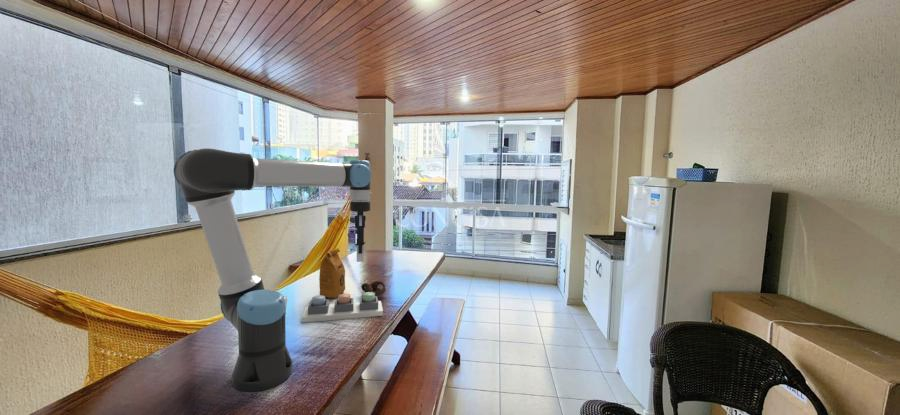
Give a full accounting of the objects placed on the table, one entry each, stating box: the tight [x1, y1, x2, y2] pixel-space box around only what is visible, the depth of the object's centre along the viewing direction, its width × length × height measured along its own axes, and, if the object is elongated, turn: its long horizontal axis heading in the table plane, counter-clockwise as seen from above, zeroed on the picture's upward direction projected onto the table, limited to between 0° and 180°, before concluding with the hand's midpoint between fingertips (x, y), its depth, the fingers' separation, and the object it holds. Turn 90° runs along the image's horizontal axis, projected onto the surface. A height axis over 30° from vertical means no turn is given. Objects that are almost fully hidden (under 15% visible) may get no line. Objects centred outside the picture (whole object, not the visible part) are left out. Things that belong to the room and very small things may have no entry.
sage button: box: [362, 292, 375, 303], centre depth 144 cm, size 5×5×3 cm
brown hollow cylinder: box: [361, 280, 387, 298], centre depth 163 cm, size 12×10×8 cm
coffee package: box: [318, 248, 346, 299], centre depth 163 cm, size 10×12×22 cm
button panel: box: [301, 296, 384, 323], centre depth 142 cm, size 31×12×5 cm, turn 106°
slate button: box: [311, 294, 326, 306], centre depth 139 cm, size 5×5×3 cm
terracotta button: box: [337, 293, 352, 304], centre depth 142 cm, size 5×5×3 cm
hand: (360, 261), depth 132 cm, fingers closed
